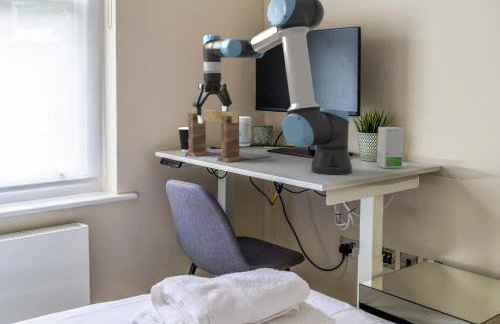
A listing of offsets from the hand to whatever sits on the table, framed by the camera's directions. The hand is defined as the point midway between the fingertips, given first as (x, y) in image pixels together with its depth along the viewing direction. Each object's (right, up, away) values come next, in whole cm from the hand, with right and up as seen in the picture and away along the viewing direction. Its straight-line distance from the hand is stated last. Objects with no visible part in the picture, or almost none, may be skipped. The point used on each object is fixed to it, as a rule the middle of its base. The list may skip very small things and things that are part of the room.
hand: (213, 122), depth 237 cm
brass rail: (0, +1, 0) cm, 1 cm away
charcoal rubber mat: (+9, -14, +11) cm, 20 cm away
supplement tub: (+12, -9, +43) cm, 45 cm away
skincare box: (+70, -19, -22) cm, 76 cm away
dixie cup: (-14, -12, +23) cm, 30 cm away
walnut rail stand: (0, -15, +2) cm, 15 cm away
